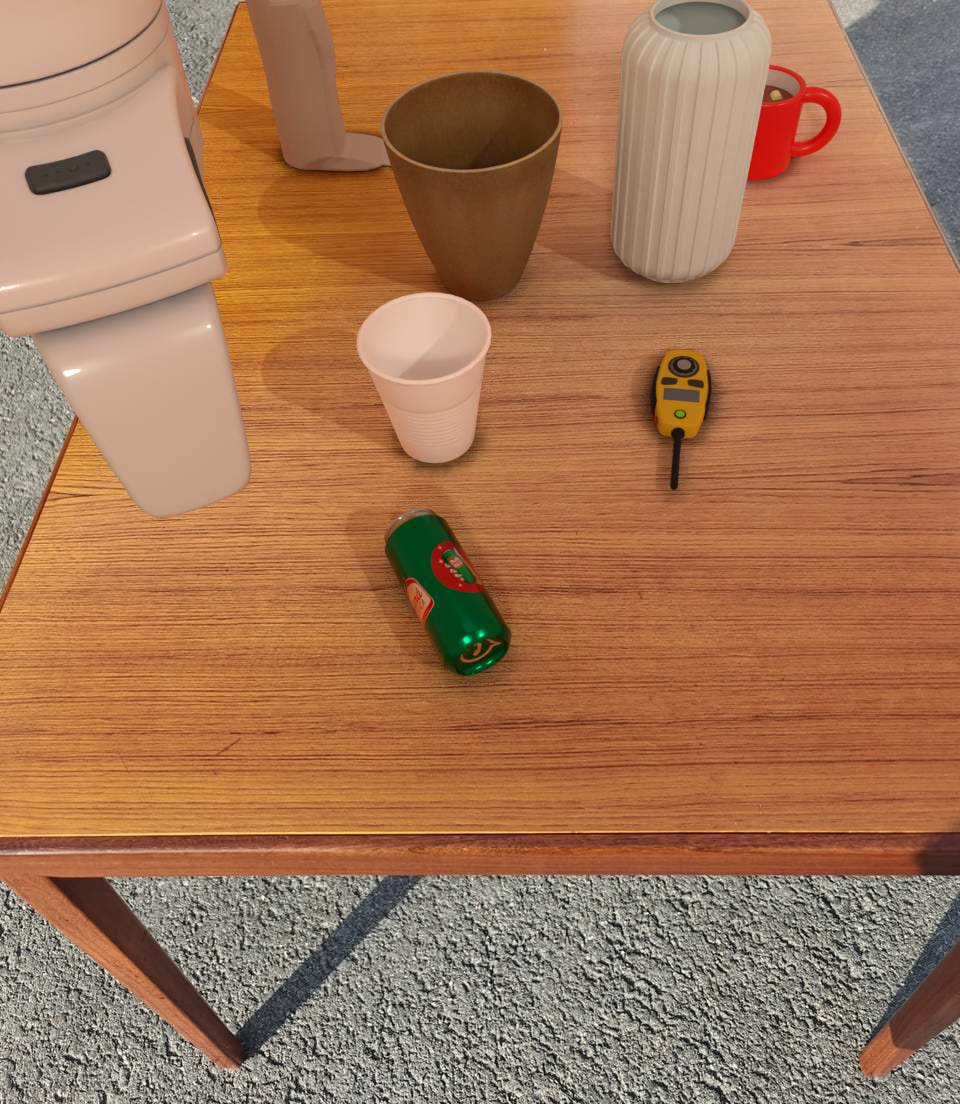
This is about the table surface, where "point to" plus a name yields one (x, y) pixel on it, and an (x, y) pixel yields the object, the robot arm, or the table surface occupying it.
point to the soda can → (446, 593)
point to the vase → (686, 134)
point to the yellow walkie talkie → (680, 399)
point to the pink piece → (308, 88)
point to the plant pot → (475, 172)
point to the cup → (428, 370)
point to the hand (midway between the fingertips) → (177, 425)
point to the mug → (788, 122)
